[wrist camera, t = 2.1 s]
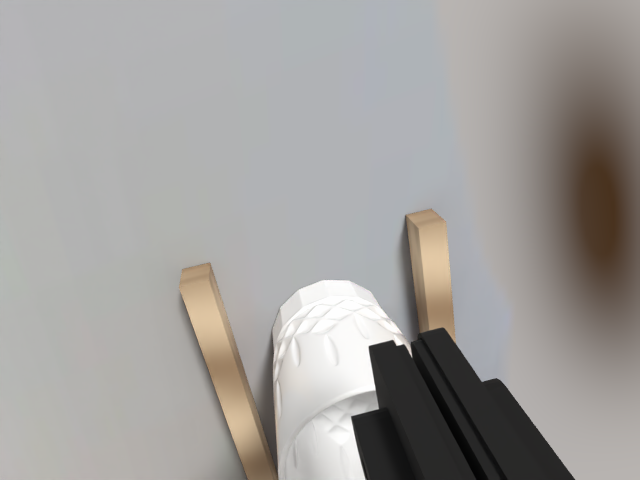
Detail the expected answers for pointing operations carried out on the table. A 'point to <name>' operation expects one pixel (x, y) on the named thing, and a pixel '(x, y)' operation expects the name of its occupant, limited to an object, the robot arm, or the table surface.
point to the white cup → (325, 377)
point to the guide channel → (225, 359)
